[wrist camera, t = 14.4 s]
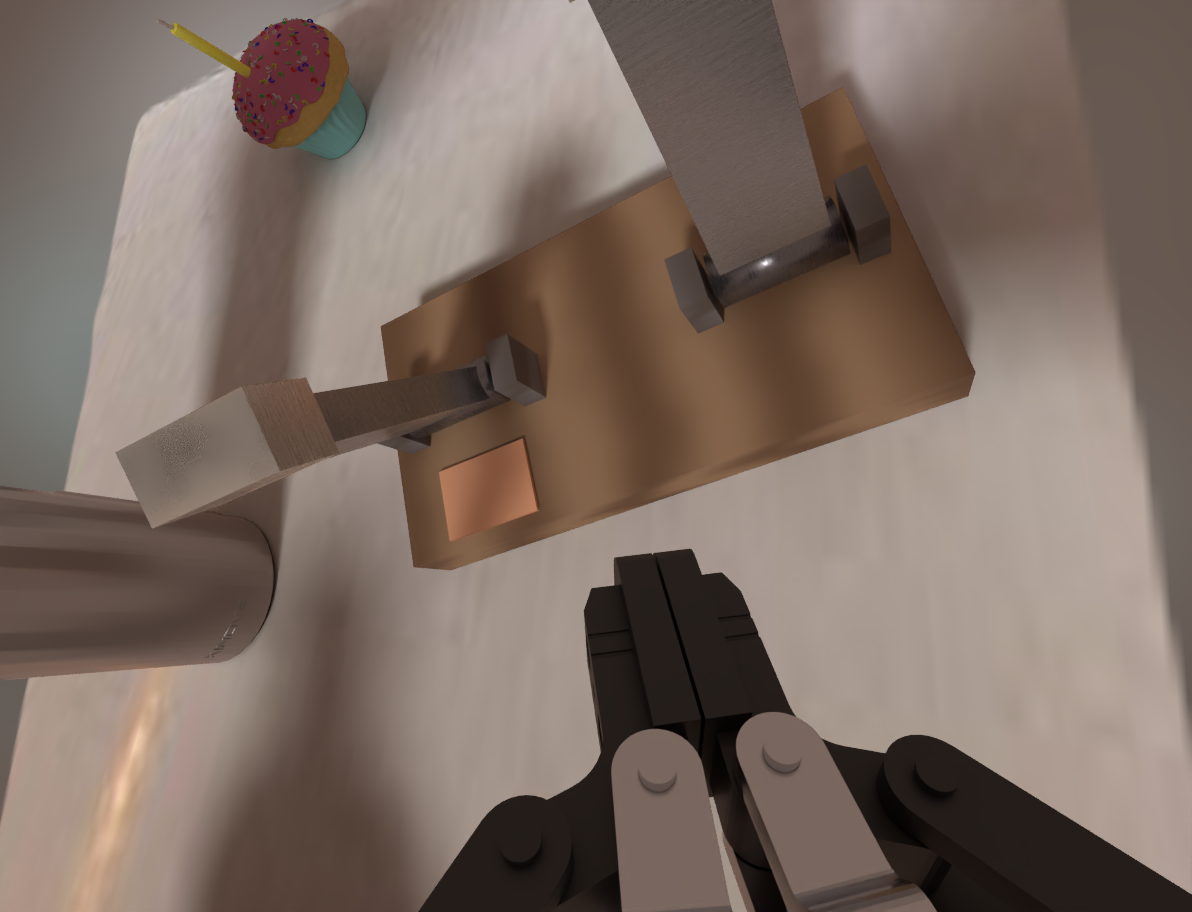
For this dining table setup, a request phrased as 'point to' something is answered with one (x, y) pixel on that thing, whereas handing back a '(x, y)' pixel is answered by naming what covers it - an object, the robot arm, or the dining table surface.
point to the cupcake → (292, 88)
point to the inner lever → (289, 434)
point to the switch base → (665, 362)
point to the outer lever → (728, 135)
